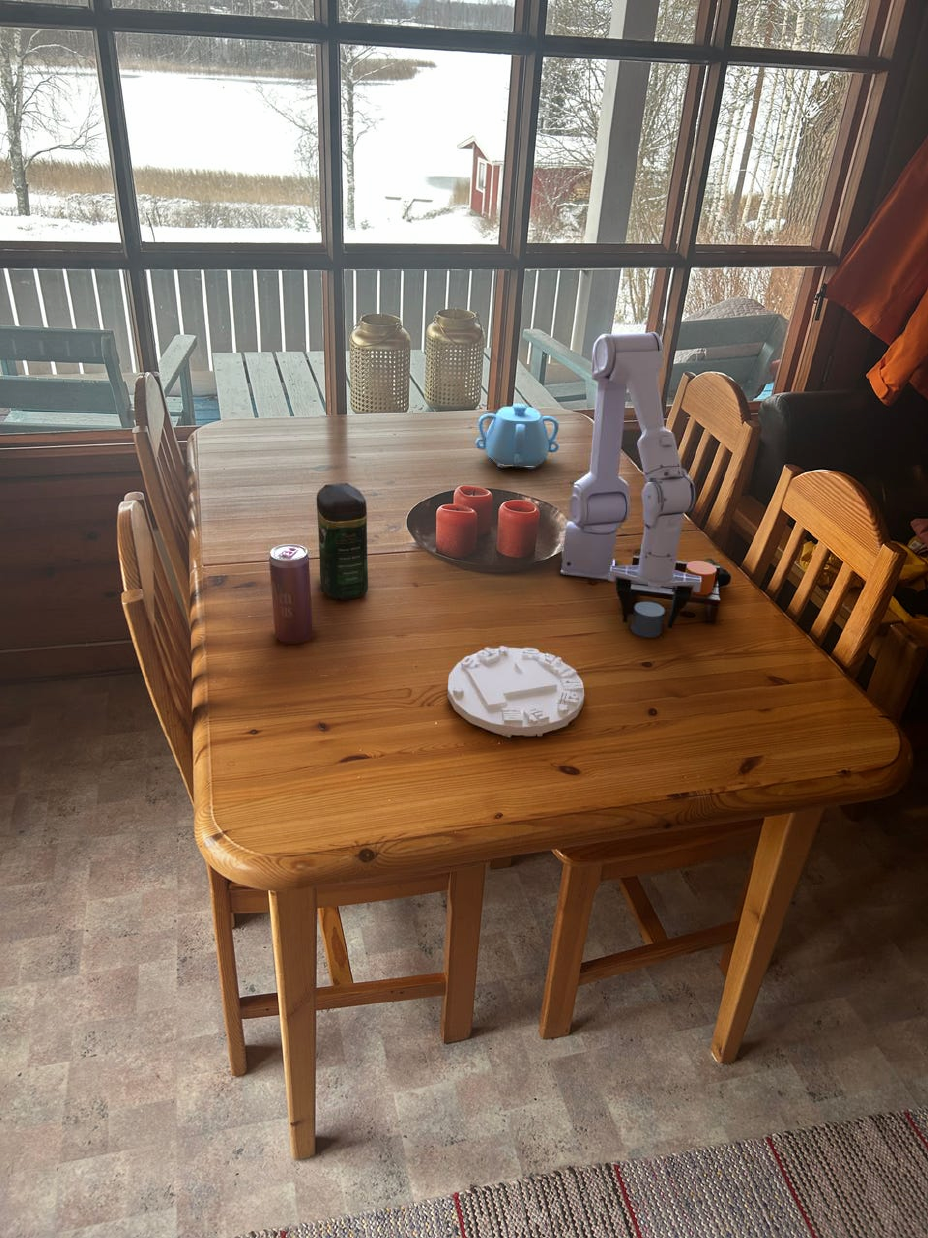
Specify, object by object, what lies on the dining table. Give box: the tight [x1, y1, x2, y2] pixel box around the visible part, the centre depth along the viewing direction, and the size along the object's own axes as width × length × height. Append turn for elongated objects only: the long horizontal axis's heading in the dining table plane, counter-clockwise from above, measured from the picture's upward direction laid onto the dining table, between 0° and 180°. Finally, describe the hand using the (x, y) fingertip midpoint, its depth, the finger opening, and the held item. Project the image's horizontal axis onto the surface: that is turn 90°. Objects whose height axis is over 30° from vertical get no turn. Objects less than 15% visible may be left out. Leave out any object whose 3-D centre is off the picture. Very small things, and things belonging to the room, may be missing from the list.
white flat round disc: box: [447, 645, 585, 739], centre depth 134 cm, size 20×20×3 cm
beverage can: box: [268, 543, 314, 645], centre depth 143 cm, size 6×6×15 cm
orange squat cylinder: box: [685, 560, 717, 595], centre depth 156 cm, size 5×5×4 cm
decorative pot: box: [475, 403, 560, 470], centre depth 213 cm, size 16×16×14 cm
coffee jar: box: [316, 482, 369, 601], centre depth 156 cm, size 10×8×19 cm
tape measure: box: [693, 558, 732, 589], centre depth 166 cm, size 7×7×4 cm
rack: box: [628, 555, 721, 624], centre depth 158 cm, size 15×9×6 cm, turn 79°
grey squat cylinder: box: [630, 601, 666, 638], centre depth 151 cm, size 5×5×4 cm
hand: (647, 622), depth 152 cm, fingers open, 7 cm apart
